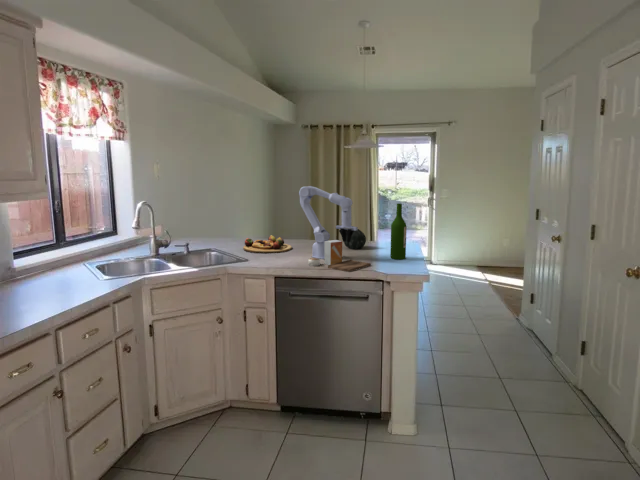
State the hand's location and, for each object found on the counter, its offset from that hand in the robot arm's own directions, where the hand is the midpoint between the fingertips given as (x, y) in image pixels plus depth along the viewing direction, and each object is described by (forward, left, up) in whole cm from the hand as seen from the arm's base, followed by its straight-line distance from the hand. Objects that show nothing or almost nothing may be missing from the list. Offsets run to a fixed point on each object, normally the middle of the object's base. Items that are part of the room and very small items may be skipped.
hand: (346, 241), depth 265 cm
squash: (-18, +33, -11) cm, 39 cm away
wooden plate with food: (-61, -7, -11) cm, 62 cm away
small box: (+2, -15, -11) cm, 19 cm away
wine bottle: (+22, +22, -11) cm, 33 cm away
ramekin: (-4, -24, -10) cm, 27 cm away
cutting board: (+14, -15, -10) cm, 23 cm away
